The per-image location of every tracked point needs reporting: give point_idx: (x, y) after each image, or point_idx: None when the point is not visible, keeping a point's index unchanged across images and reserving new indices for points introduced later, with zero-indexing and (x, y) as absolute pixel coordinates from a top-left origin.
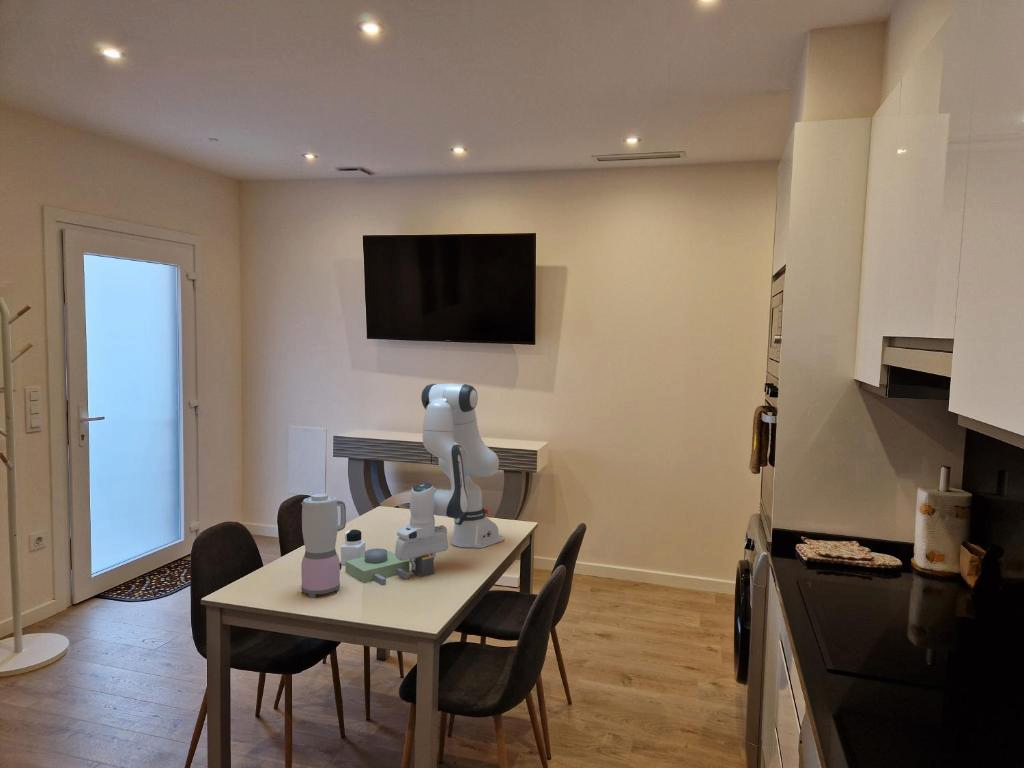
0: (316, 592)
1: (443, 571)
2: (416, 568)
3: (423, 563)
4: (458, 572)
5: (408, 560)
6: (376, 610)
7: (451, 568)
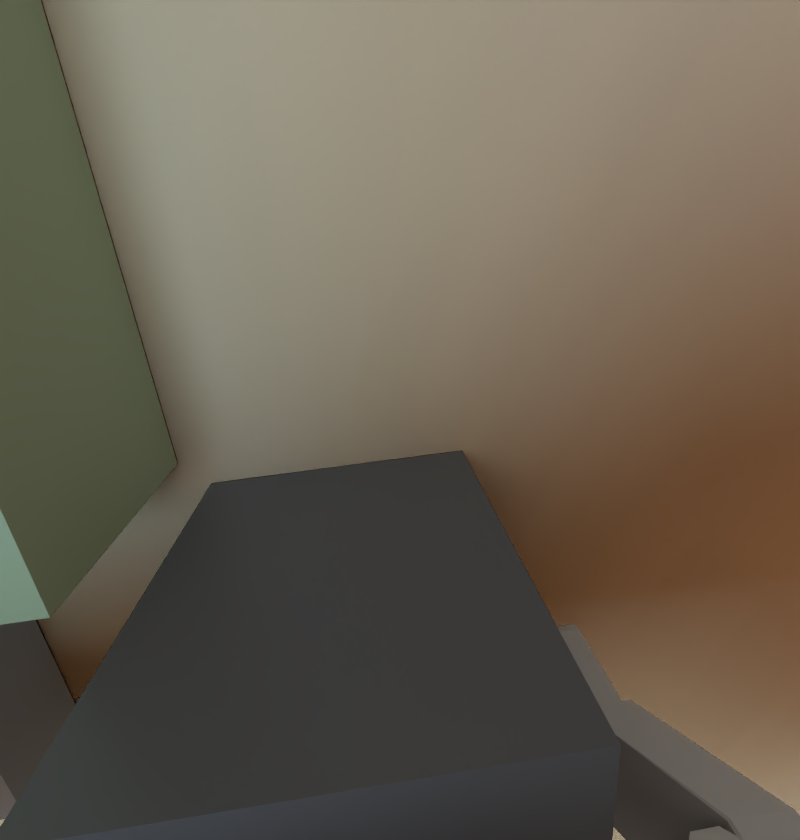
0: None
1: (633, 675)
2: None
3: None
4: (740, 764)
5: (21, 601)
6: None
7: (788, 626)
